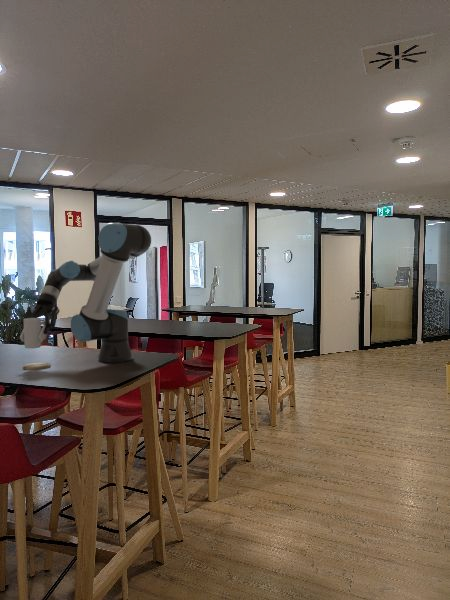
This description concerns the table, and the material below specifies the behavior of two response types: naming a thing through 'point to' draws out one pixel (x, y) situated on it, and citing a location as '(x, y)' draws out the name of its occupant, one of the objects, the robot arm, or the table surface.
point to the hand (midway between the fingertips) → (31, 339)
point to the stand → (36, 366)
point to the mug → (32, 332)
